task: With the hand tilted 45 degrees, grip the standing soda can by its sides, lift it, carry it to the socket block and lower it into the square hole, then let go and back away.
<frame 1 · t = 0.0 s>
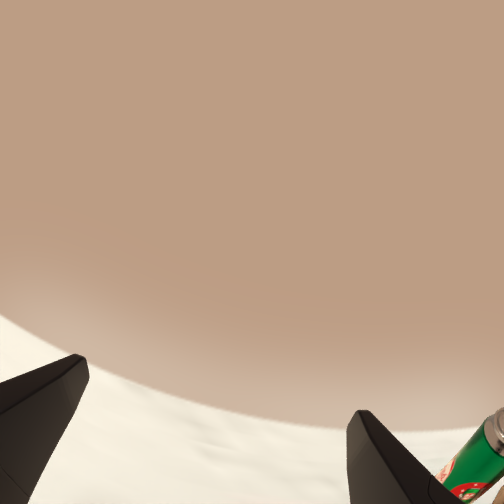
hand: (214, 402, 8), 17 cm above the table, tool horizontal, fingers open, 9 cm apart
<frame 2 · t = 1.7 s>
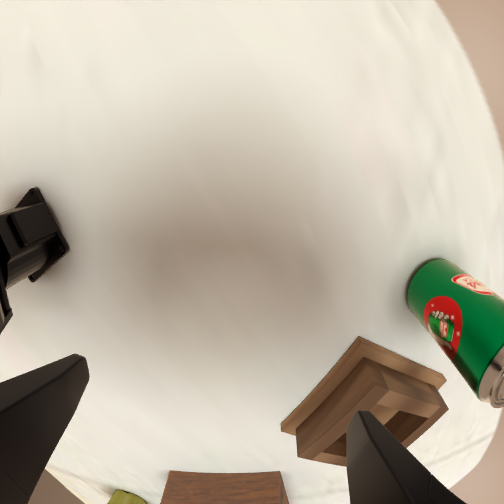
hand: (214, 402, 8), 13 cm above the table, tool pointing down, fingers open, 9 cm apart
plant pot: (131, 496, 35), on the table
soda can: (429, 285, 20), on the table
socket block: (366, 403, 24), on the table
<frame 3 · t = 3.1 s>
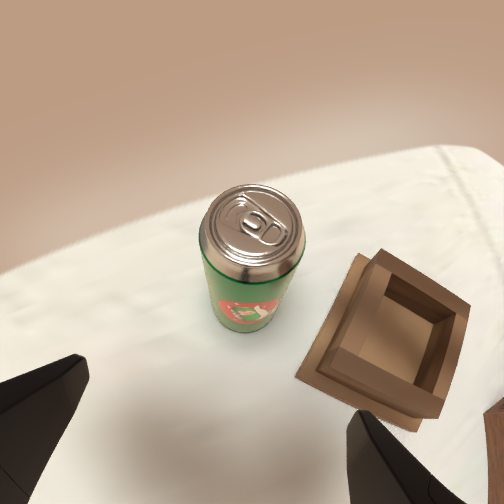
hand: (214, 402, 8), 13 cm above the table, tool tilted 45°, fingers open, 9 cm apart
soda can: (244, 303, 24), on the table
socket block: (386, 345, 22), on the table
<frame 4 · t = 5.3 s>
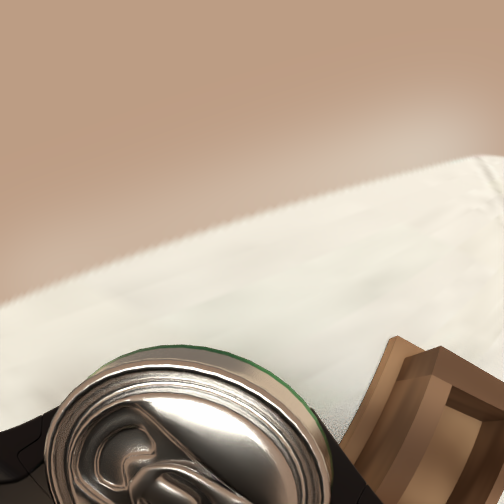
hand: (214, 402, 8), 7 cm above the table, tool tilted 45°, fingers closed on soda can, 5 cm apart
soda can: (218, 422, 14), on the table, touching gripper
socket block: (421, 458, 12), on the table
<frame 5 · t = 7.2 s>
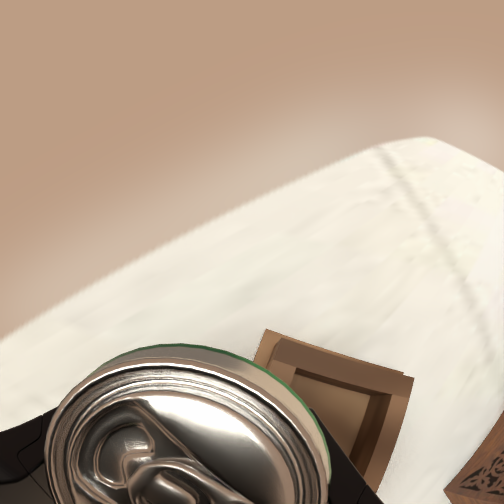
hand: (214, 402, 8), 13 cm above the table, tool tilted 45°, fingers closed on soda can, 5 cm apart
soda can: (217, 421, 14), point 6 cm above the table, touching gripper
socket block: (311, 426, 19), on the table
when the fingers open (9 cm above the table, at t = 9.1 s): soda can drops 1 cm, resting on socket block.
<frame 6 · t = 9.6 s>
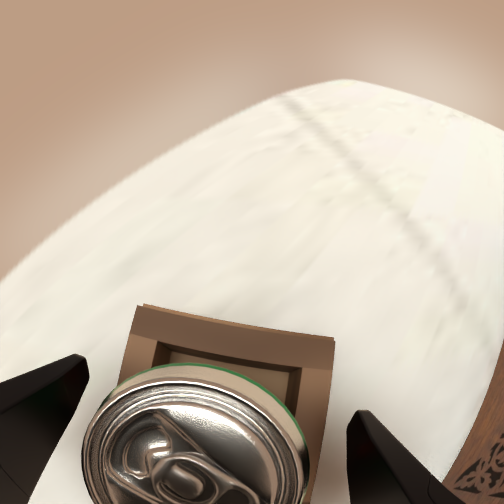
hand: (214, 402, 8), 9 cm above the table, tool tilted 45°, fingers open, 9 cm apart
soda can: (218, 422, 15), point 1 cm above the table, touching socket block
socket block: (220, 418, 16), on the table
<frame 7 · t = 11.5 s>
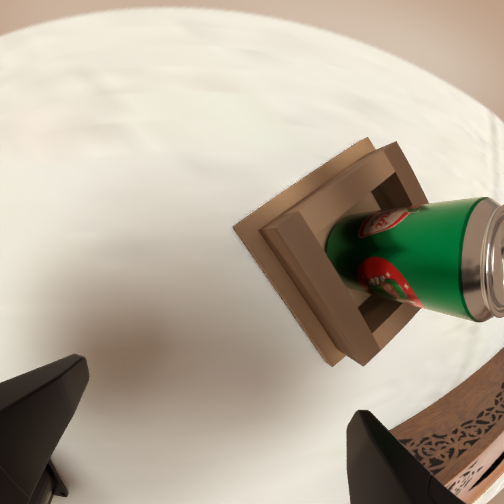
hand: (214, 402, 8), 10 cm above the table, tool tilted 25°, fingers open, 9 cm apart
soda can: (353, 251, 20), point 1 cm above the table, touching socket block
tissue box cover: (445, 429, 26), on the table
socket block: (348, 249, 21), on the table
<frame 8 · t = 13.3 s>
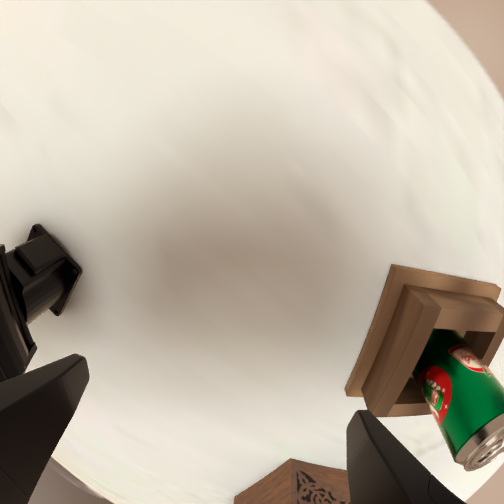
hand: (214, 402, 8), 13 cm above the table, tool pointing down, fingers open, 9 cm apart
soda can: (428, 344, 21), point 1 cm above the table, touching socket block
tissue box cover: (335, 492, 31), on the table
socket block: (426, 339, 21), on the table
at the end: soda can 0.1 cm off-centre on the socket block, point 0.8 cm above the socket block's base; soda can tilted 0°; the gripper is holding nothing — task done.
